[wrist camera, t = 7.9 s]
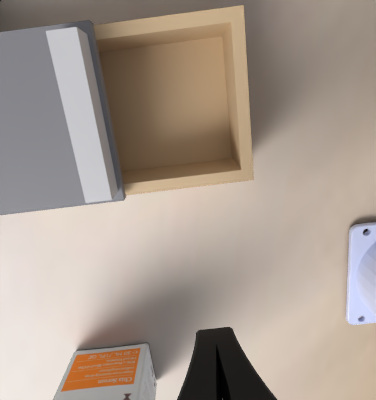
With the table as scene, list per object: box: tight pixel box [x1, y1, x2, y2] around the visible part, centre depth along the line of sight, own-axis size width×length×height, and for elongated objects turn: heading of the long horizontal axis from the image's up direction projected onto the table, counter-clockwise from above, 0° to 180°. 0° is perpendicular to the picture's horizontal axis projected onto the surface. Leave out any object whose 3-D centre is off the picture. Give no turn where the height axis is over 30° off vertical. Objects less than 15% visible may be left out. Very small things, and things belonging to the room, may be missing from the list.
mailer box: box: [93, 5, 254, 195], centre depth 17 cm, size 14×8×4 cm, turn 97°
